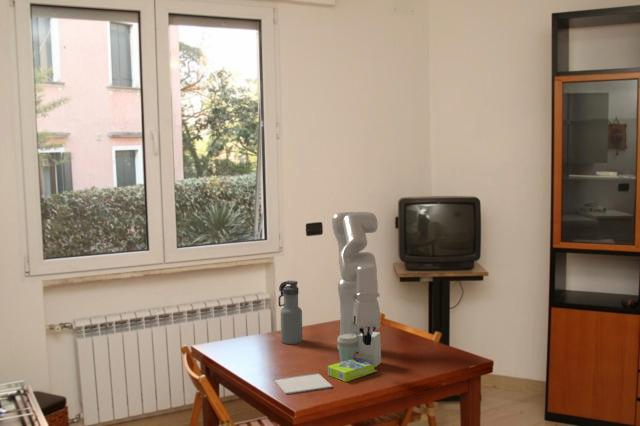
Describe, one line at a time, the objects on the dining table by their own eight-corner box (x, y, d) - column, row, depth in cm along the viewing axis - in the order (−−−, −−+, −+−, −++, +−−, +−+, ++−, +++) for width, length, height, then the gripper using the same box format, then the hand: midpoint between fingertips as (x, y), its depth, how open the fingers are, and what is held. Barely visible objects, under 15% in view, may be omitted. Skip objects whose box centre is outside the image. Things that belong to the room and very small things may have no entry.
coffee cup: (352, 369, 259) (351, 340, 258) (333, 366, 264) (333, 337, 263) (362, 363, 266) (361, 334, 265) (344, 360, 271) (343, 332, 270)
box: (327, 365, 252) (360, 355, 263) (327, 375, 253) (360, 365, 264) (345, 372, 244) (378, 361, 255) (345, 383, 245) (378, 372, 256)
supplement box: (381, 362, 267) (381, 332, 266) (375, 367, 261) (374, 337, 260) (364, 360, 271) (364, 330, 269) (358, 365, 264) (357, 335, 263)
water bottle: (276, 342, 298) (274, 282, 296) (288, 337, 306) (287, 278, 304) (294, 345, 293) (293, 284, 290) (306, 340, 301) (305, 280, 299)
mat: (318, 374, 254) (318, 373, 254) (333, 387, 239) (333, 386, 239) (273, 380, 248) (273, 379, 248) (286, 394, 233) (286, 393, 233)
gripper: (380, 293, 256) (380, 339, 258) (344, 297, 251) (345, 344, 253) (388, 297, 249) (388, 344, 251) (352, 301, 244) (353, 349, 246)
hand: (367, 344), depth 252 cm, fingers closed
